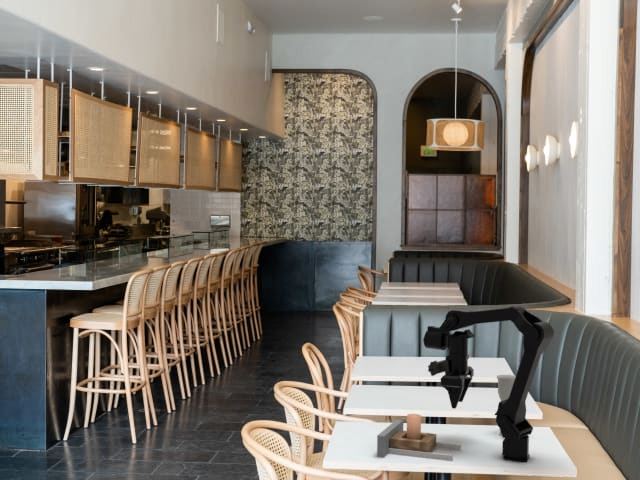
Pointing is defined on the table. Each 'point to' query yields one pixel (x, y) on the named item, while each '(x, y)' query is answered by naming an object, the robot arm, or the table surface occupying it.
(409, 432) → the dowel
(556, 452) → the table surface
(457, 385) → the robot arm
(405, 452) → the backstop
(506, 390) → the chalice
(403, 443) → the socket block
